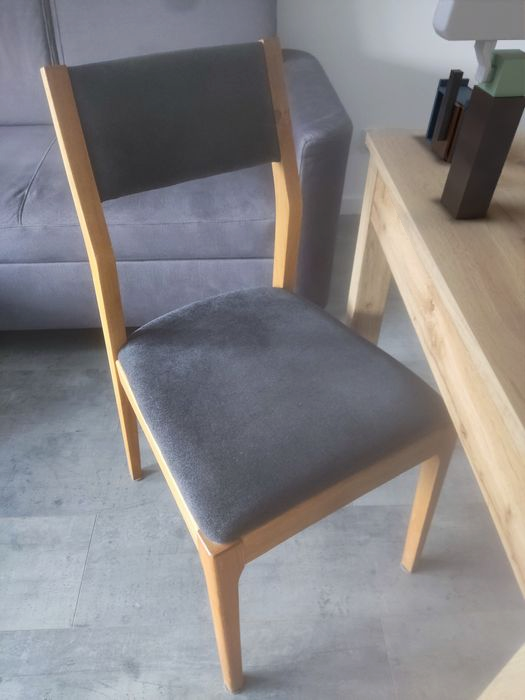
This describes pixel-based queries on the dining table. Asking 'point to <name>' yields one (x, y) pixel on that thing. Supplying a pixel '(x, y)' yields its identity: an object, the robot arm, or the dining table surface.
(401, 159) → the dining table surface
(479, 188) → the plinth
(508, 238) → the dining table surface
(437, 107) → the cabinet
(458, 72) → the door
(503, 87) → the block
